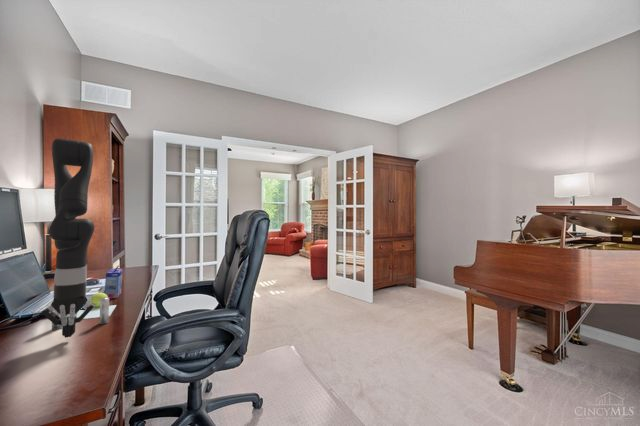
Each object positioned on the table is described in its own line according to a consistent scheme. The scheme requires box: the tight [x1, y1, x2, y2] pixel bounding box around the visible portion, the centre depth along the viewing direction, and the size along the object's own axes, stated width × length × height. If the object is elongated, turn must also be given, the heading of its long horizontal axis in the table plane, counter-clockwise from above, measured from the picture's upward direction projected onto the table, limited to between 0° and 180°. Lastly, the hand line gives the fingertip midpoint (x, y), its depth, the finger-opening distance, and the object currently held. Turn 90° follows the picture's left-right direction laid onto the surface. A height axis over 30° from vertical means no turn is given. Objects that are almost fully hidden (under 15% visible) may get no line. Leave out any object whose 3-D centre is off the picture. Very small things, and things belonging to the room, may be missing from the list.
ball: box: [89, 292, 108, 307], centre depth 118 cm, size 6×6×6 cm
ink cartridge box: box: [104, 265, 124, 299], centre depth 133 cm, size 10×6×14 cm, turn 27°
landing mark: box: [77, 304, 117, 320], centre depth 111 cm, size 14×14×1 cm
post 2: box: [98, 297, 110, 325], centre depth 101 cm, size 3×3×9 cm
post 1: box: [51, 309, 62, 331], centre depth 95 cm, size 3×3×9 cm
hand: (68, 336), depth 87 cm, fingers closed
